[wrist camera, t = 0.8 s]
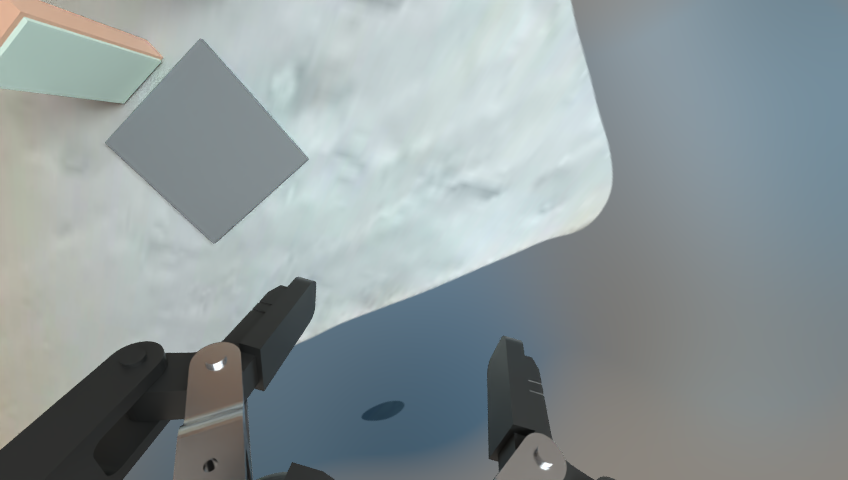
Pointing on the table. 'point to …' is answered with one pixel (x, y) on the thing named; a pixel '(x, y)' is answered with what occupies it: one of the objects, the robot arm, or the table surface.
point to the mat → (206, 144)
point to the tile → (69, 54)
